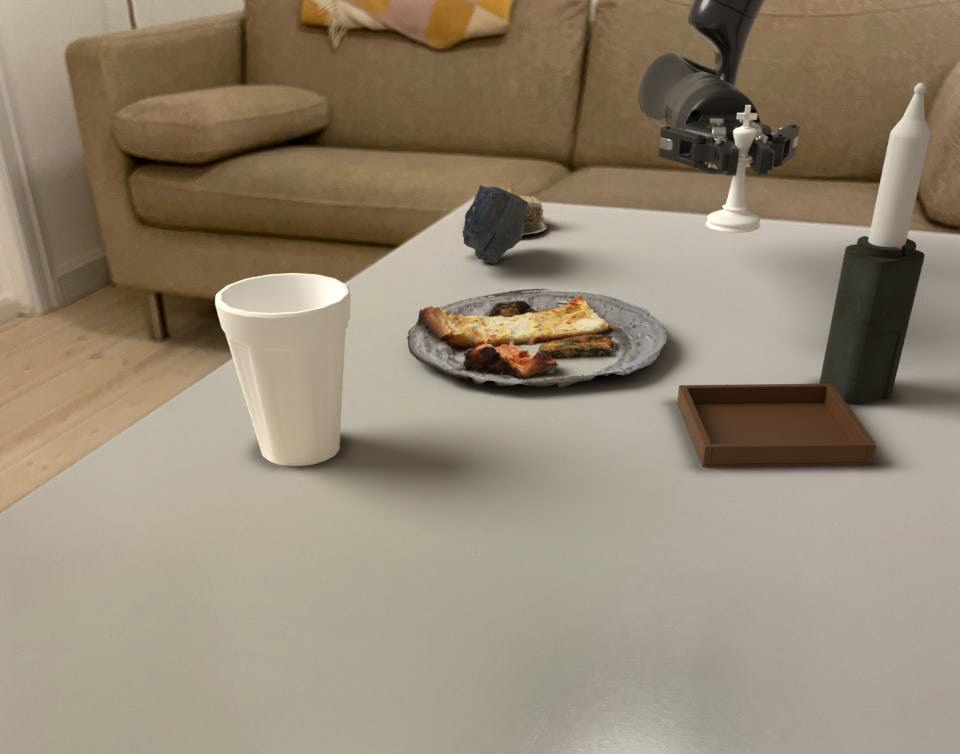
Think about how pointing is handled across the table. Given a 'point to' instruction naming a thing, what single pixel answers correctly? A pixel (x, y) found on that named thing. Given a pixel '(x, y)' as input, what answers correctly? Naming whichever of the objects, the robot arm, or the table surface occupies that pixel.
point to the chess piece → (738, 186)
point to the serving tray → (773, 426)
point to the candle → (880, 274)
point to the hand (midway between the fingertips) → (749, 163)
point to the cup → (289, 360)
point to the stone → (494, 223)
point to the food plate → (534, 335)
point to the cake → (532, 215)
